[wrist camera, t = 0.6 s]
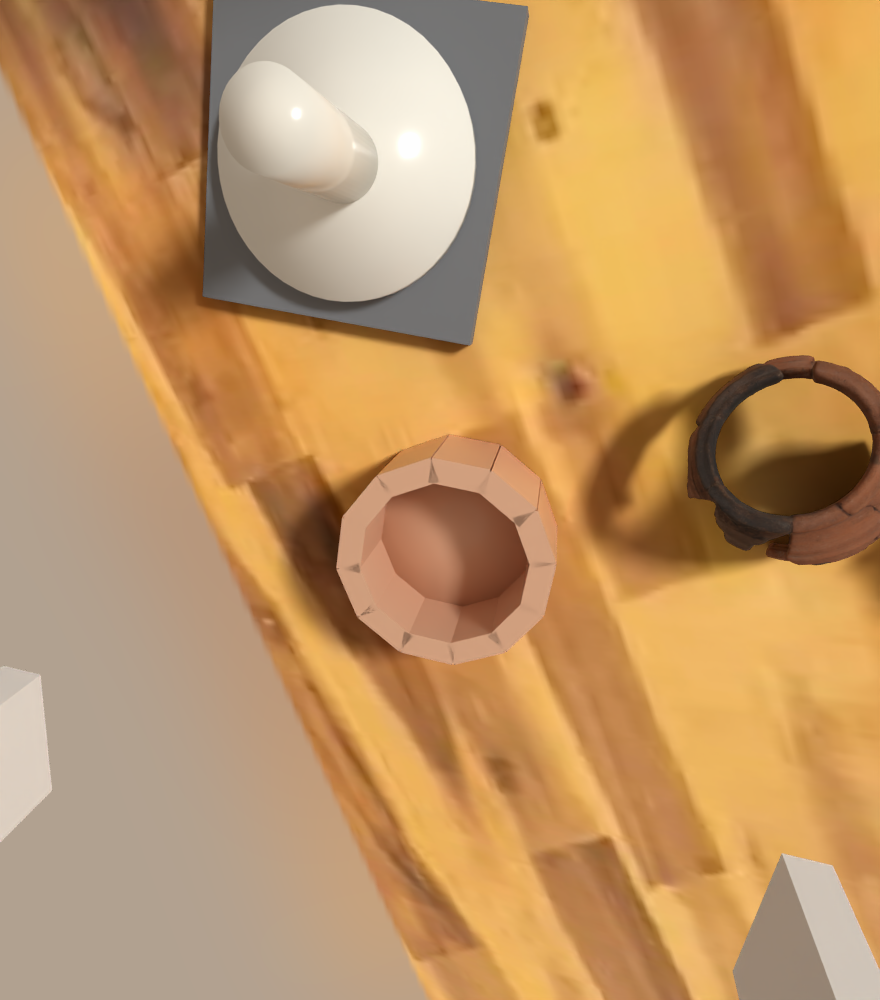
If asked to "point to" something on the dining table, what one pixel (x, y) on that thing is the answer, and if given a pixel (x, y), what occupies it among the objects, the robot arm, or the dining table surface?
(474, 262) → the mat
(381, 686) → the dining table surface
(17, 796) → the robot arm
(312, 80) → the lid
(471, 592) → the bowl
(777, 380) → the broken pottery
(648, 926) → the dining table surface
